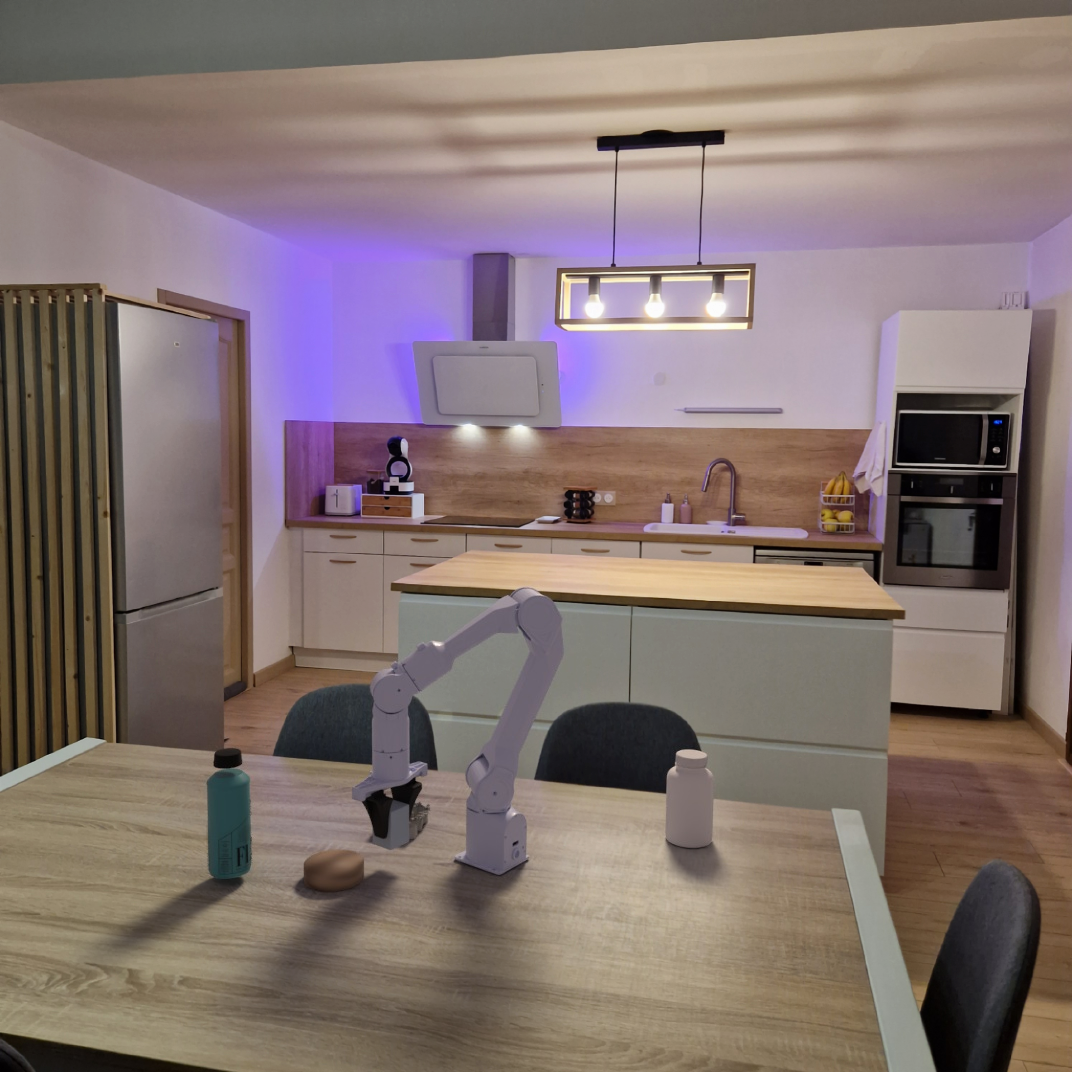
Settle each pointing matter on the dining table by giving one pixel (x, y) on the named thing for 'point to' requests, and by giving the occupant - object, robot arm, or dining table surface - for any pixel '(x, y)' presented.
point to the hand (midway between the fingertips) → (391, 831)
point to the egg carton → (418, 819)
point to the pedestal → (333, 870)
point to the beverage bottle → (228, 817)
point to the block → (395, 827)
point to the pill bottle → (689, 800)
